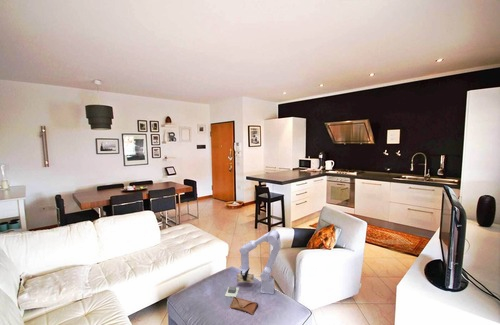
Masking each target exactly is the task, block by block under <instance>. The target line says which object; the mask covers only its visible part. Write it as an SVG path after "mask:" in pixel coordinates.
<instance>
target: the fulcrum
mask: <svg viewBox="0 0 500 325" xmlns="http://www.w3.org/2000/svg"><path fill="white" fill-rule="evenodd" d="M239 290H240V287H237V286H228V287H227V290H226V292H225V294H224V297H228V298H233V297H236V298H237V296H238V293H239Z"/></svg>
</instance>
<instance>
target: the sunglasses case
mask: <svg viewBox="0 0 500 325" xmlns="http://www.w3.org/2000/svg"><path fill="white" fill-rule="evenodd" d="M230 308H231V309H232V310H236V311H239V312H243V313H245V312H246V314H248V313H249V315H251V316H254V314H255V312H256V311H257V309H258V308H259V304H258V302H255V301H251V300H249V299H245V298H240V297H237V296H236V297H232V300H231V303H230V306H229V309H230Z"/></svg>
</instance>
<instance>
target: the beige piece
mask: <svg viewBox="0 0 500 325" xmlns="http://www.w3.org/2000/svg"><path fill="white" fill-rule="evenodd" d="M254 276H255V274H253V273H248V275H247V280H246V281H244V280H243V277H242V275H241V272H237V274H236V281H237V283H249V284H254V281H255V280H254V279H255V278H254Z"/></svg>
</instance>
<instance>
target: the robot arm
mask: <svg viewBox="0 0 500 325" xmlns="http://www.w3.org/2000/svg"><path fill="white" fill-rule="evenodd" d="M263 242H265V243H269V244H270V246H272V250H271V252H270V254H269V257H268V259H267V262H266V264H265V266H264V268H263V270H262V271H261V273H259V274H260V276H259V277H260V280H261V282H260V283H261V284H260V285H261V287H260V291H259V292H260V293H261V294H271V295H274V293H275V289H276V288H275V278H274V277H272V273H273V267H274V264H275V261H276V259H277V257H278V255H279V252H280V250H281V247H282V244H281V236H280V233H279V231H278V230H276V229H272V230H270V231H268V232H266V233H265V234H263V235H262V236H261V237H259V238H257V239H256V240H254V239H253V240H249V241H248V242H247V243H245V244H243V245H242V246H241V247H240V249H239V253H240V266H239V269H240V273H241V275H242V277H243V280H244V281H246V280H247V275H248V274H249V271H250V269H251V268H250V260H249V259H250V258H249V252H251V251H253V250H255V249H256V248H257V247H258V245H260V244H262V243H263Z"/></svg>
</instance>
